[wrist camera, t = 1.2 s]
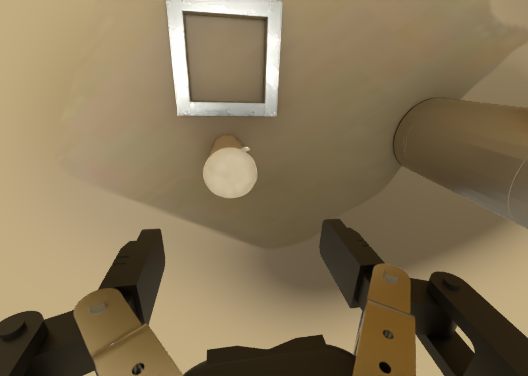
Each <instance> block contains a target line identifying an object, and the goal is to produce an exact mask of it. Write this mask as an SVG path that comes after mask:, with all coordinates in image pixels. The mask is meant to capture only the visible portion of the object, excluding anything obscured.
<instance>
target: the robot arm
mask: <svg viewBox="0 0 528 376" xmlns="http://www.w3.org/2000/svg"><path fill="white" fill-rule="evenodd" d="M394 152H395V155H396V158H397V160H398V161H399V163H400V164H401V165H402V166H404V167H406V168H408V169H409V170H411V171H413V172H415V173H417V174H419V175H421V176H423V177H425V178H427V179H429V180H431V181H433V182H435V183H437V184H439V185H441V186H443V187H445V188H447V189H449V190H451V191H453V192H455V193H457V194H459V195H461V196H463V197H465V198H467V199H469V200H471V201H473V202H475V203H477V204H479V205H480V206H482V207H485V208H487V209H488V210H491V211H493V212H494V213H496V214H499V215H500V216H503V217H505V218H506V219H508V220H510V221H512V222H514V223H516V224H518V225H521V226H523V227H525V228H527V229H528V108H525V107H516V106H507V105H498V104H489V103H480V102H472V101H464V100H455V99H446V98H433V99H428V100H426V101H424V102H421V103H420V104H418V105H417V106H415V107H414V108H413V109H412V110H411V111H409V112H408V113H407V115H406V116H405V117H404V119H403V120H402V121H401V123H400V125H399V127H398V129H397V132H396V135H395V140H394ZM319 247H320V254H321V257H322V258H323V260H324V262H325V264H326V266H327V267H328V269H329V271H330V273H331V275H332V276H333V278H334V280H335V282H336V283H337V285H338V287H339V289H340V291H341V292H342V294H343V296H344V297H345V300H346V301H347V303H348V305H349V307H350V308H357V307H360V308H361V309H362V314H361V319H360V323H359V329H358V333H357V337H356V341H355V346H354V351H353V354H351V353H350V352H348V351H346V350H344V349H341V348H339V347H336V346H332V345H327V344H326V343H325V340H324V338H323V335H316V336H308V337H300V338H295V339H293V340H290V341H288V342H285V343H283V344H280V345H278V346H276V347H273V348H271V349H258V348H250V347H242V346H232V347H225V348H217V349H210V350H207V360H206V361H204V362H202V363H200V364H198V365H196V366H194V367H193V368H191V369H190V370H189V371H187V372H186V373H185V374H184V375H183V374H182V373H181V371H180V370H179V368H178V367H177V366H176V364H175V363H174V361H173V360H172V358H171V357H170V356H169V355H168V353H167V351H166V350H165V348H164V347H163V346H162V344H161V343H160V341H159V340H158V338H157V337H156V335H155V334H154V333H153V331H152V330H151V329H150V327H149V326H148V325H149V321H150V318H151V314H152V310H153V307H154V303H155V300H156V296H157V293H158V289H159V286H160V282H161V278H162V275H163V272H164V267H165V254H164V247H163V240H162V234H161V230H160V229H144V230H142V231H141V233H140V235H139V237H138V239H137V241H130V242H128V243H127V244H126V245H125V246H123V247H122V248H121V249H120V251H119V253H118V255H117V256H116V259H115V260H114V262H113V264H112V266H111V267H110V269H109V271H108V272H107V274H106V276H105V278H104V280H103V281H102V283H101V285H100V287H99V289H98V290H97V291H94V292H92V293H90V294H88V295H87V296H85V297H84V298H83V299H81V300H80V301H79V302H78V304H77V305H76V306H75V308H74V310H72V311H70V312H67V313H64V314H61V315H58V316H54V317H51V318H48V319H45V320H44V318H43V316H42V314H40V313H39V312H36V311H26V312H21V313H18V314H15V315H12V316H10V317H8V318H6V319H4V320H3V321H1V322H0V376H83V375H85V374H87V373H90V372H92V371H95V373H96V375H97V376H416V347H415V346H416V344H415V334H416V335H417V337H418V338H419V340H420V341H421V343H422V344H423V345H424V347H425V348H426V350H427V351H428V353H429V354H430V356H431V357H432V358H433V360H434V361H435V363H436V364H437V366H438V367H439V369H440V370H441V372H442V373H443V375H444V376H528V338H527V337H526V336H525V335H524V334H523V333H522V332H520V331H519V330H518V329H517V328H516V327H515V326H514V325H513V324H512V323H510V322H509V321H508V320H507V319H506V318H505V317H504V316H503V315H502V314H501V313H499V312H498V311H497V310H496V309H495V308H494V307H493V306H491V304H490V303H488V302H487V301H486V300H485V299H484V298H483V297H482V296H481V295H480V294H478V293H477V292H476V291H475V290H474V289H473V288H472V287H471V286H470V285H469V284H467V283H466V282H465V281H464V280H462V279H461V278H459V277H457V276H455V275H453V274H450V273H446V272H434V273H432V274H431V276H430V279H429V281H425V280H419V279H413V278H409V276H408V274H407V273H406V272H405V271H403V270H402V269H400V268H398V267H396V266H394V265H391V264H385V263H384V262H383V261H382V259H381V258H380V257H379V256H378V255H377V254H376V253H375V251H374V250H373V249H372V248H371V247H370V246H369V245H368V243H367V242H366V241H364V239H363V238H362V237H361V235H360V234H359V233H357V232H356V231H354V230H353V229H351V228H347V227H346V226H345V225H344V224H343V222H342V221H341V220H340V219H326V220H324V221H323V224H322V231H321V238H320V246H319ZM457 325H458V326H459V327H460V328H461V330H462V331H463V332H464V333H465V334H466V336H467V337H468V338H469V339H470V340H471V342H472V344H473V346H474V350H475V353H474V352H473V351H472V350H471V349H470V348H469V346H468V345H467V344H466V343H465V342H464V341H463V340H462V338H461V337H460V336H459V335H458V334H457V332H456V331H455V329H456V327H457Z"/></svg>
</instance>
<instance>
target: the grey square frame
mask: <svg viewBox="0 0 528 376" xmlns="http://www.w3.org/2000/svg"><path fill="white" fill-rule="evenodd" d="M166 6H167V16H168V26H169V36H170V46H171V56H172V65H173V75H174V85H175V95H176V105H177V115H199V116H277V98H278V78H279V58H280V39H281V19H282V1H275V0H166ZM184 14H191V15H205V16H219V17H233V18H247V19H261V20H265V47H264V81H263V102H233V101H191V95H190V82H189V70H188V57H187V44H186V32H185V19H184Z"/></svg>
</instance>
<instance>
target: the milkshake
mask: <svg viewBox="0 0 528 376" xmlns="http://www.w3.org/2000/svg"><path fill="white" fill-rule="evenodd" d="M248 150H251V148H249V147H243V145H242V144H241V143H240V142H239V141H238V140H237V139H236V138H235V137H234V136H230V135H223V136H221V137H219V138H218V139H216V141H215V143H214V145H213V147H212V150H211V153H210V155H209V157H208V159H207V161H206V163H205V165H204V169H203V178H204V182H205V183H206V185H207V186H208V188H209V189H210V190H211V191H212V192H213V193H214V194H216V195H218V196H221V197H224V198H237V197H241V196H244V195H245V194H247V193H248V192H249V191H250V190H251V189H252V187H253V186H254V184H255V182H256V180H257V167H256V164H255V161H254V160H253V158H252V157H251V156H250V155H249V154H248V152H247V151H248Z"/></svg>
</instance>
